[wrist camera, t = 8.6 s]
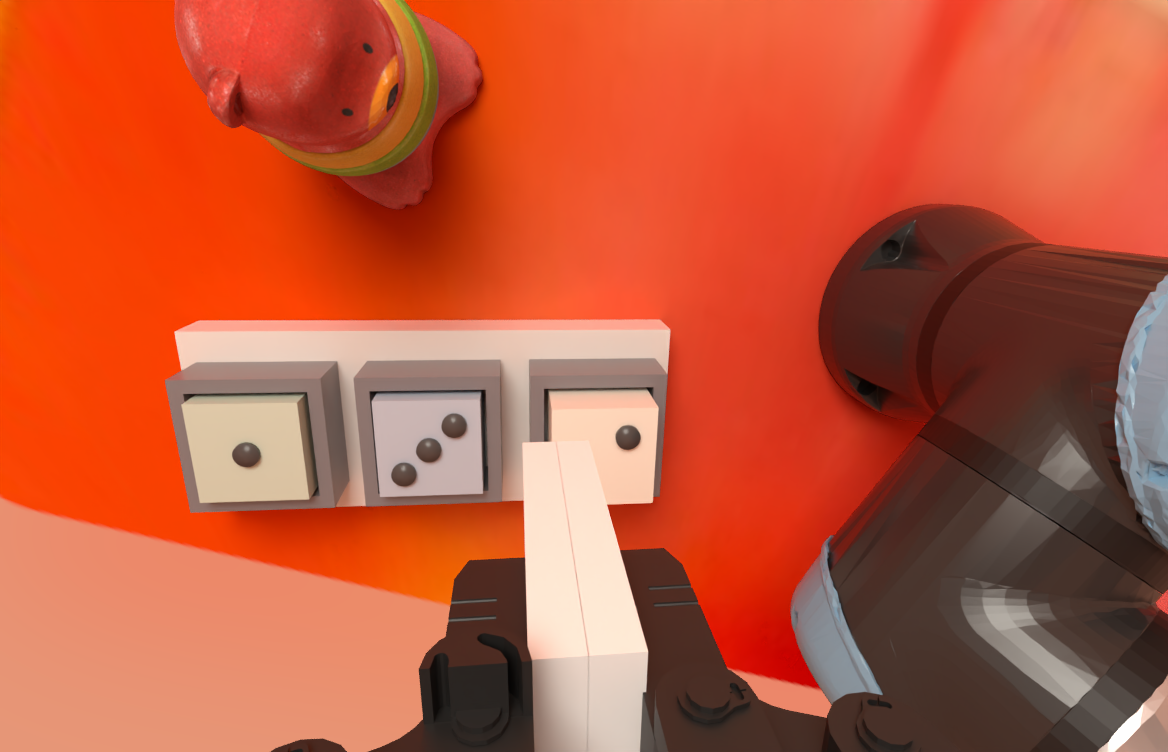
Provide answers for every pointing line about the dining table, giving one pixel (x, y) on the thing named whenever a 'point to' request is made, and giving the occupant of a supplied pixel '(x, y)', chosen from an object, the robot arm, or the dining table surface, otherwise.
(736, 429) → the dining table surface
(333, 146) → the stacking bear
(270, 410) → the button one dot
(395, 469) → the button three dot
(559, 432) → the button two dot
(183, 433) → the button panel
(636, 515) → the dining table surface
